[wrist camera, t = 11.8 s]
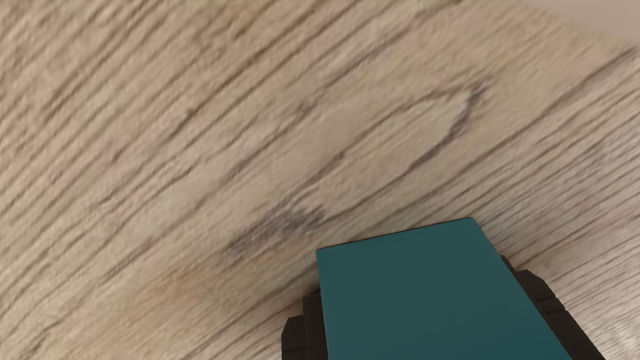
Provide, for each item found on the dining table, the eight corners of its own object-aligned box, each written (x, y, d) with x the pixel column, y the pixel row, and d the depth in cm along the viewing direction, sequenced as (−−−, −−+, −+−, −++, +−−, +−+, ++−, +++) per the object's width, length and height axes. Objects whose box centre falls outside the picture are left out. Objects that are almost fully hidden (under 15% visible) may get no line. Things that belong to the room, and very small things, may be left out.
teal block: (315, 249, 12) (334, 410, 8) (472, 216, 11) (575, 362, 8) (341, 351, 14) (367, 518, 10) (474, 324, 14) (554, 482, 10)
